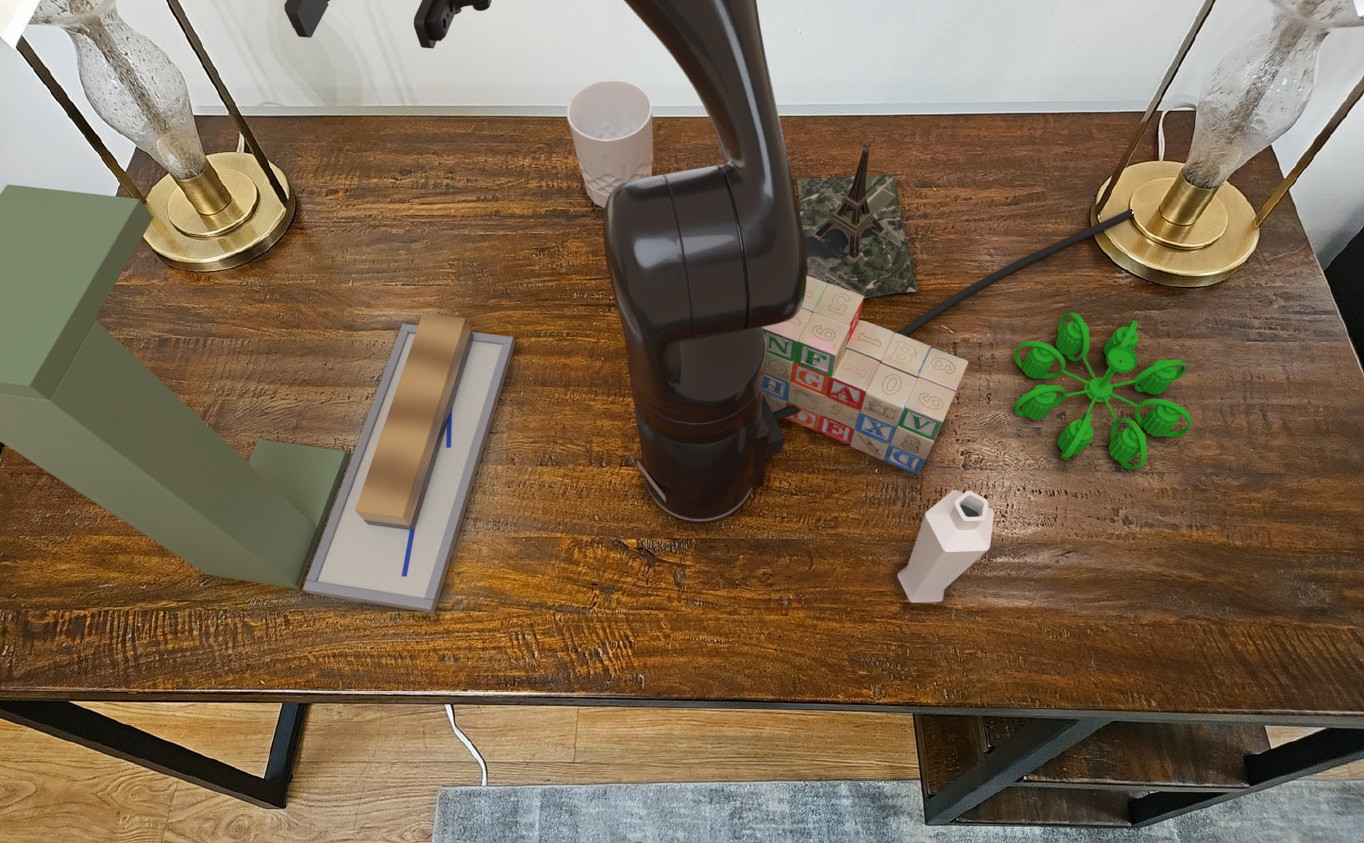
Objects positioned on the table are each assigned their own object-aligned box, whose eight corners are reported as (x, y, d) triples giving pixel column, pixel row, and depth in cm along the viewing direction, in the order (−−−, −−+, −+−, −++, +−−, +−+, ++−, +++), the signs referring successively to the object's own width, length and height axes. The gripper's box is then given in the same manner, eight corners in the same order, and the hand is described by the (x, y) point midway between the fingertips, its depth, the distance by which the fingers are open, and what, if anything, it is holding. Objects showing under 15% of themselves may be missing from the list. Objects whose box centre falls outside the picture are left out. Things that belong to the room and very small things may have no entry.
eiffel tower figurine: (919, 297, 83) (953, 197, 71) (810, 304, 83) (827, 205, 71) (892, 177, 90) (919, 68, 78) (792, 183, 90) (804, 75, 78)
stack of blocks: (943, 418, 77) (981, 339, 66) (917, 477, 74) (952, 405, 63) (721, 326, 82) (723, 239, 71) (690, 378, 79) (686, 296, 68)
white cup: (672, 175, 91) (668, 98, 82) (629, 227, 88) (620, 152, 79) (609, 147, 93) (598, 68, 84) (565, 196, 90) (549, 120, 81)
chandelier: (1132, 315, 81) (1167, 267, 75) (1213, 459, 74) (1258, 419, 68) (976, 346, 80) (998, 301, 74) (1043, 496, 73) (1073, 459, 67)
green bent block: (263, 444, 77) (6, 183, 49) (350, 456, 77) (139, 198, 48) (206, 574, 72) (-119, 365, 44) (299, 589, 71) (28, 385, 43)
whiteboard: (405, 329, 83) (402, 323, 82) (515, 343, 82) (513, 336, 81) (307, 593, 71) (302, 589, 70) (434, 613, 70) (430, 609, 69)
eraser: (431, 331, 81) (422, 312, 79) (474, 336, 81) (465, 317, 78) (367, 524, 73) (354, 510, 70) (414, 530, 72) (402, 517, 70)
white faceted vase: (946, 551, 71) (1000, 471, 58) (956, 604, 69) (1014, 534, 56) (889, 553, 71) (929, 474, 58) (897, 607, 69) (941, 537, 56)
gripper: (320, -176, 63) (229, -30, 55) (516, -164, 61) (450, -13, 54) (358, -73, 69) (281, 70, 62) (535, -60, 68) (479, 87, 60)
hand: (360, 31), depth 58 cm, fingers open, 8 cm apart
